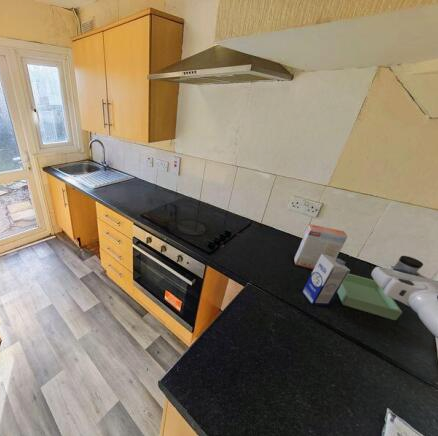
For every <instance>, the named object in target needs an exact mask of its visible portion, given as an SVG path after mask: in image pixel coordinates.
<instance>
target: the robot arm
mask: <svg viewBox="0 0 438 436" xmlns="http://www.w3.org/2000/svg"><path fill="white" fill-rule="evenodd" d="M394 266H395V265H394ZM394 266H392V265H387V267H382V266H376V267H374V268H373V269H372V270H371V273H370V276H371V277H372V280H375V282H376V283H377V284H378V285H379V286H380V287H381V288H382V289H384V291H383V293H384V294H385V295H386V296H388V297H391V298H393V300H396V301H398V302H400V303H402V304H404V305H405V306H407V307H410V308H411V310H413V311H414V312H415V313H416V314H417V315H418V318H419V320H420V321H421V322H422V323H423V324H424V326H425V327H426V328H427V329H428V330H429V332H430V333H431V334H432V335H433V336H434V337H436V338H437V339H438V280H435V279H431V278H429V277H427V276H424V275H422V274H421V272H419V271H417V273H416V274H415V275H411V274H407V273H402V272H398V271H396V268H395V267H394Z"/></svg>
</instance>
